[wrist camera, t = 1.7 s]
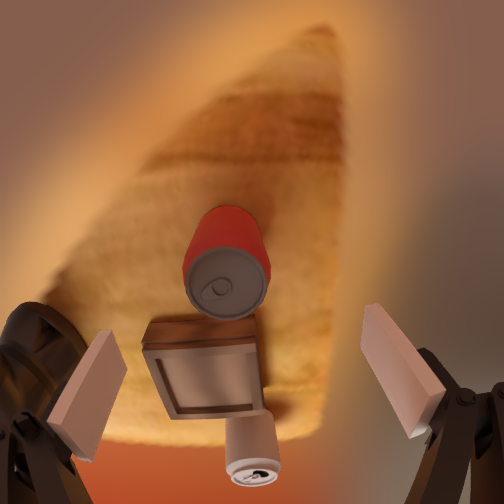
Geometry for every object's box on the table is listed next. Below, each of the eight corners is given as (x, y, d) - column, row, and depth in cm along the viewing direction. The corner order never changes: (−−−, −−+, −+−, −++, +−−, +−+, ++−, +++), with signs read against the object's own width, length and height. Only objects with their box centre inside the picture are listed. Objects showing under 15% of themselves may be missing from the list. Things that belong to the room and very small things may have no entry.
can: (281, 419, 41) (292, 479, 30) (242, 433, 42) (245, 492, 31) (258, 395, 39) (265, 463, 28) (216, 412, 40) (214, 476, 29)
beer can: (185, 223, 30) (158, 268, 19) (241, 193, 29) (246, 220, 18) (216, 274, 32) (209, 340, 21) (270, 247, 31) (290, 303, 20)
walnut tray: (174, 394, 38) (169, 420, 33) (149, 323, 34) (138, 348, 29) (262, 388, 38) (266, 415, 34) (254, 314, 34) (258, 340, 29)
